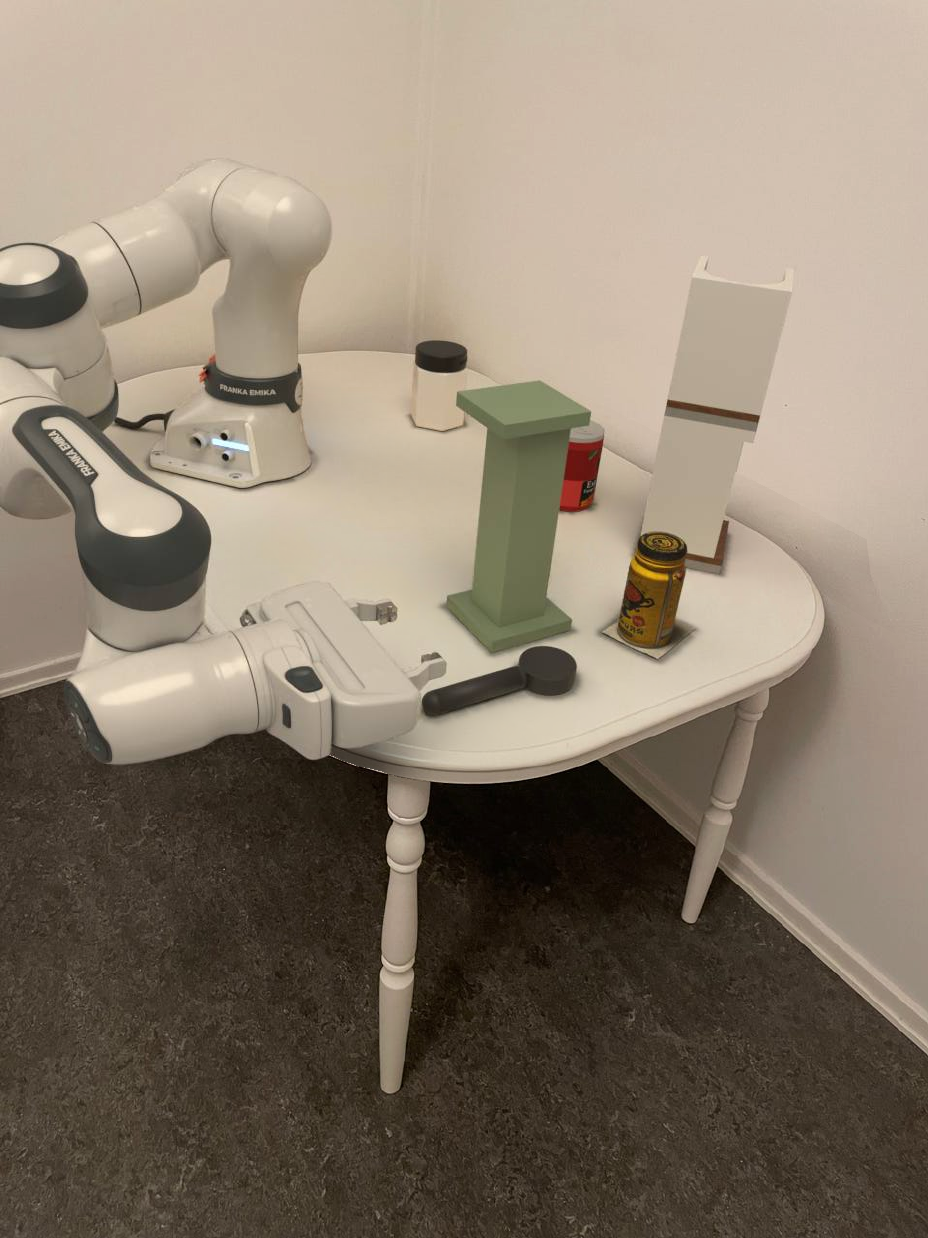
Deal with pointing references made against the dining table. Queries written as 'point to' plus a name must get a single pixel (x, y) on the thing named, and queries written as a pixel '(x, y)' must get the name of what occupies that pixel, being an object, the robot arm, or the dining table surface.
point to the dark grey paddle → (509, 680)
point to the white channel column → (713, 407)
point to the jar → (438, 384)
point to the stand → (517, 512)
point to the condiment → (653, 596)
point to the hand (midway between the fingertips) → (417, 635)
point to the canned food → (582, 467)
